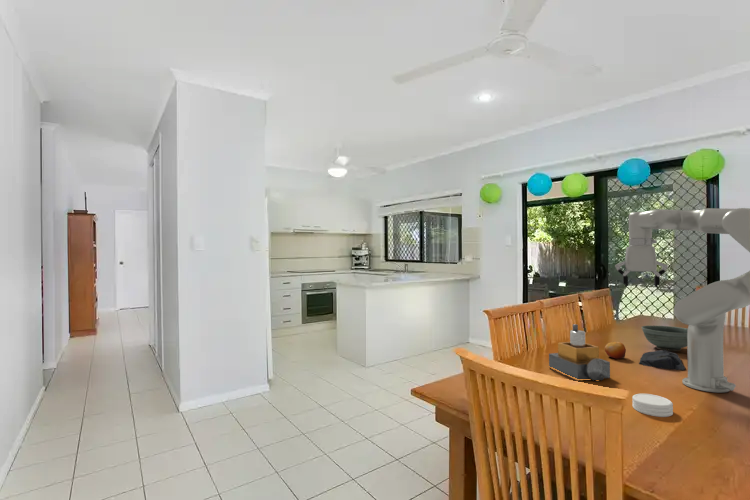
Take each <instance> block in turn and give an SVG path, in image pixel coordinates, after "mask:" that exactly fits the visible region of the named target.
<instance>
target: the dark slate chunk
mask: <svg viewBox="0 0 750 500" xmlns="http://www.w3.org/2000/svg"><path fill="white" fill-rule="evenodd" d="M638 365H641V366H644V367H645V366H646V367H653V368H656V369H664V370H673V371H685V369H686V367H685V365H684V364H683V362H682V359H681V358H680V356H679V354H677V353H676V352H673V351H668V350H662V349H658V350H654V351H648V352H644V353H642V355H641V357H640V359H639V362H638Z"/></svg>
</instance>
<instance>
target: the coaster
mask: <svg viewBox="0 0 750 500" xmlns="http://www.w3.org/2000/svg"><path fill="white" fill-rule="evenodd" d="M631 397H632V398H631V399H632V401H631V402H632V408H633V409H634V410H635V411H637V412H638V413H641V414H644V415H648V416H652V417H659V418H668V417H671V416H673V414H674V411H673V410H674V407H673V406H674V404H673V402H672V401H671V400H670V399H668V398H666V397H663V396H660V395H656V394H651V393H637V394H636V393H635V394H634V395H632V396H631Z"/></svg>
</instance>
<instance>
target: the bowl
mask: <svg viewBox="0 0 750 500" xmlns="http://www.w3.org/2000/svg"><path fill="white" fill-rule="evenodd" d="M641 329H642V332H643V335H644V337H645V338H646V340H647V342H649V343H651V344H652V345H654V346H656V349H658V350H666V351H668V352H679V351H681V350H682V349H684V348H687V332H688V327H686V328H685V327H681V326H669V325H642V326H641Z"/></svg>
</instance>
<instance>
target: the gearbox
mask: <svg viewBox="0 0 750 500" xmlns="http://www.w3.org/2000/svg"><path fill="white" fill-rule="evenodd" d="M557 351H558V352H554V353H553V352H552V353H551V352H550V353H548V367H549V366H550V367H553V368H555V369H557V370H559V371H561V372H563V373H565V374H567V375H570V376H572V377H575V378H577V379H592V380H591V381H594V380H601V381H602V380H604V378H605V379H610V378H611V362H610V361H608V360H605V359H603V358H600V349H599V346H597V345H593V344H590V343H587V342H585V347H584V348H575V347H572V346H570V341H566V342H565V341H564V342H558V343H557Z"/></svg>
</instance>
